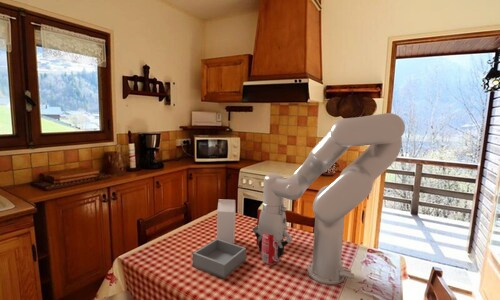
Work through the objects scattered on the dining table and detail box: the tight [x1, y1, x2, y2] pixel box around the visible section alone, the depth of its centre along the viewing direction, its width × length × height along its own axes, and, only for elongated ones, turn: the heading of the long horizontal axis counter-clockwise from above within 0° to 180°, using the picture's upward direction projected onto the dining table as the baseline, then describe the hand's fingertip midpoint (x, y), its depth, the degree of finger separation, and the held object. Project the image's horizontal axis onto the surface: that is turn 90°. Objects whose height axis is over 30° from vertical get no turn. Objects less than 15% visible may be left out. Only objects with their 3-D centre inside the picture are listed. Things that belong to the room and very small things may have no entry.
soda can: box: [261, 232, 281, 265], centre depth 98 cm, size 7×7×12 cm
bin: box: [191, 238, 247, 280], centre depth 96 cm, size 14×14×5 cm
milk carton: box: [216, 198, 237, 244], centre depth 112 cm, size 7×7×19 cm
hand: (270, 252), depth 99 cm, fingers closed on soda can, 7 cm apart
